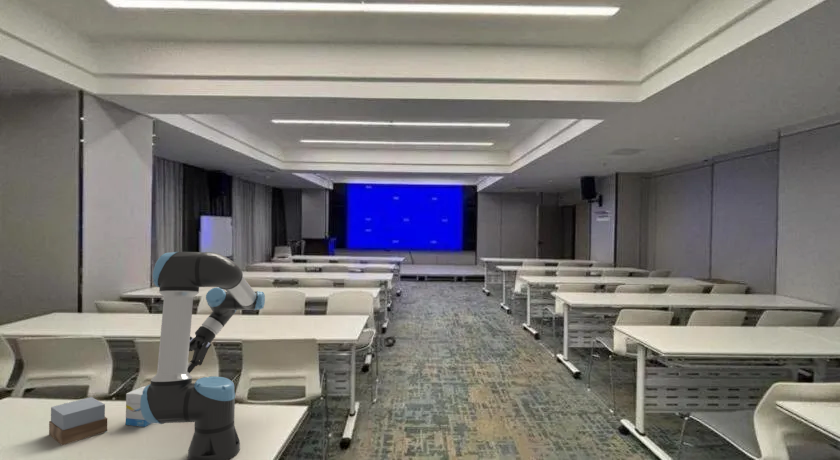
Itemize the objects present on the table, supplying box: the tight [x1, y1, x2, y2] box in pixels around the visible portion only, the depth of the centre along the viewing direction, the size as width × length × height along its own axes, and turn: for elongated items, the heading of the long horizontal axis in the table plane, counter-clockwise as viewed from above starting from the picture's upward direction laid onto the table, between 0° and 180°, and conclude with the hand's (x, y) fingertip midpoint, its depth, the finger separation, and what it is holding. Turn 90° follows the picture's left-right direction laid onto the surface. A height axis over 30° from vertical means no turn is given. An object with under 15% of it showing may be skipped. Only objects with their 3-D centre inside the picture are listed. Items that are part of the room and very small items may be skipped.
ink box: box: [125, 385, 152, 428], centre depth 168 cm, size 9×8×12 cm
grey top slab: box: [50, 396, 106, 430], centre depth 158 cm, size 12×12×5 cm
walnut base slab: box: [48, 416, 108, 446], centre depth 158 cm, size 13×13×5 cm
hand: (171, 375), depth 176 cm, fingers open, 13 cm apart
